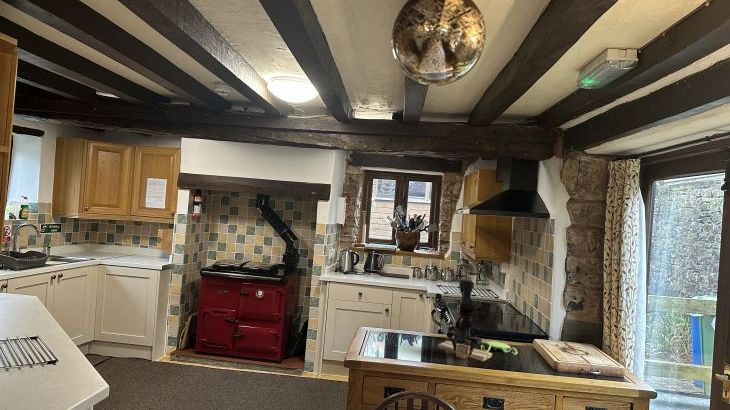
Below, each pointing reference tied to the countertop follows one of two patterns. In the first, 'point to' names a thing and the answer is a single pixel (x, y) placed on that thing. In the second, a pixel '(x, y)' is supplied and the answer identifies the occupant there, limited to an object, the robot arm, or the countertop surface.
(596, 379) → the countertop surface
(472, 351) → the robot arm
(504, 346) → the figurine
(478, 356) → the board
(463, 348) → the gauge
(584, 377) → the countertop surface
